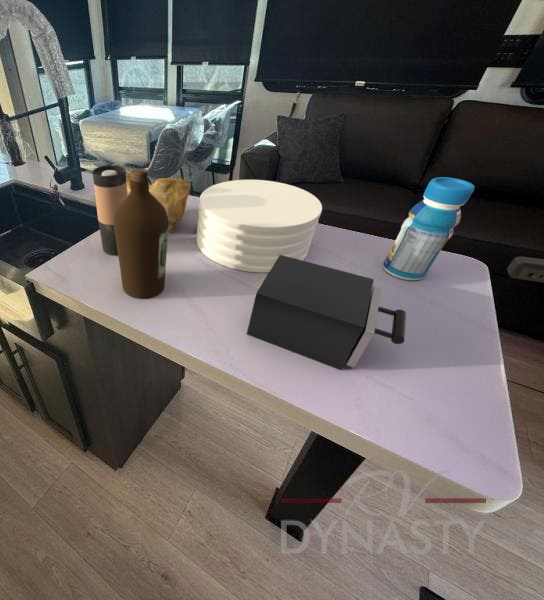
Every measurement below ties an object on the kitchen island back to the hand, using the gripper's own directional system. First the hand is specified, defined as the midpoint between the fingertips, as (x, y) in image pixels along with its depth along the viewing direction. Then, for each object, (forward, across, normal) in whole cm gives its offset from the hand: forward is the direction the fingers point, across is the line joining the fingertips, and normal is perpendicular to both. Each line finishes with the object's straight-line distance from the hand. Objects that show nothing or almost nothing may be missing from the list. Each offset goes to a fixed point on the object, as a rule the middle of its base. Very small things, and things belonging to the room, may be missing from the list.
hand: (512, 266), depth 39 cm
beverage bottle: (+4, -31, +21) cm, 38 cm away
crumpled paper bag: (+65, -29, +16) cm, 72 cm away
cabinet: (+21, -2, +19) cm, 28 cm away
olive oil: (+53, +1, +17) cm, 56 cm away
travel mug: (+68, -10, +16) cm, 70 cm away
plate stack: (+38, -29, +18) cm, 51 cm away
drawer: (+16, -1, +18) cm, 25 cm away
